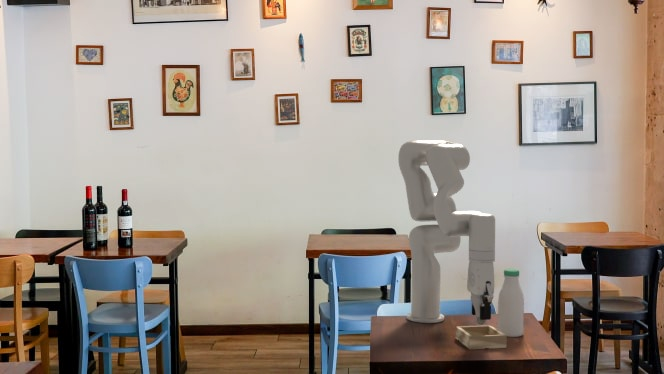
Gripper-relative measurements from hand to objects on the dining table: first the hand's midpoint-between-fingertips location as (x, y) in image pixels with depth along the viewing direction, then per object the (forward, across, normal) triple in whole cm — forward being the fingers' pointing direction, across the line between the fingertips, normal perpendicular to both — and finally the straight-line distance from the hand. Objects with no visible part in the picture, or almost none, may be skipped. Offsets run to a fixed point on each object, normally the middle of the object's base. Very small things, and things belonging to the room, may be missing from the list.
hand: (481, 316), depth 211 cm
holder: (+8, 0, 0) cm, 8 cm away
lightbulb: (+3, 0, 0) cm, 3 cm away
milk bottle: (+8, -8, +13) cm, 17 cm away
